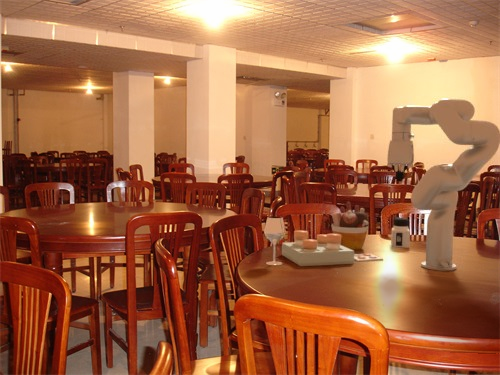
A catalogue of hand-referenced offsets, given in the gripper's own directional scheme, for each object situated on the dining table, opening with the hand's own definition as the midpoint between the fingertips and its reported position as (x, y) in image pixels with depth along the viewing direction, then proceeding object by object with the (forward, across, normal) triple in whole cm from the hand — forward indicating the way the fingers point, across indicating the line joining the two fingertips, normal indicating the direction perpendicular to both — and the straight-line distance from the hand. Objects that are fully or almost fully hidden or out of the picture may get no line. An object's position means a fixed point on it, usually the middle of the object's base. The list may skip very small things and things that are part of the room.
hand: (399, 181), depth 229 cm
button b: (+30, +25, +20) cm, 44 cm away
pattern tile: (+31, +10, +14) cm, 36 cm away
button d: (+28, +32, +27) cm, 50 cm away
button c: (+30, +25, +34) cm, 52 cm away
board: (+31, +25, +27) cm, 48 cm away
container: (+31, +4, -21) cm, 38 cm away
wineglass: (+31, +36, +44) cm, 65 cm away
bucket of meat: (+31, +22, -4) cm, 39 cm away
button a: (+28, +18, +27) cm, 43 cm away
